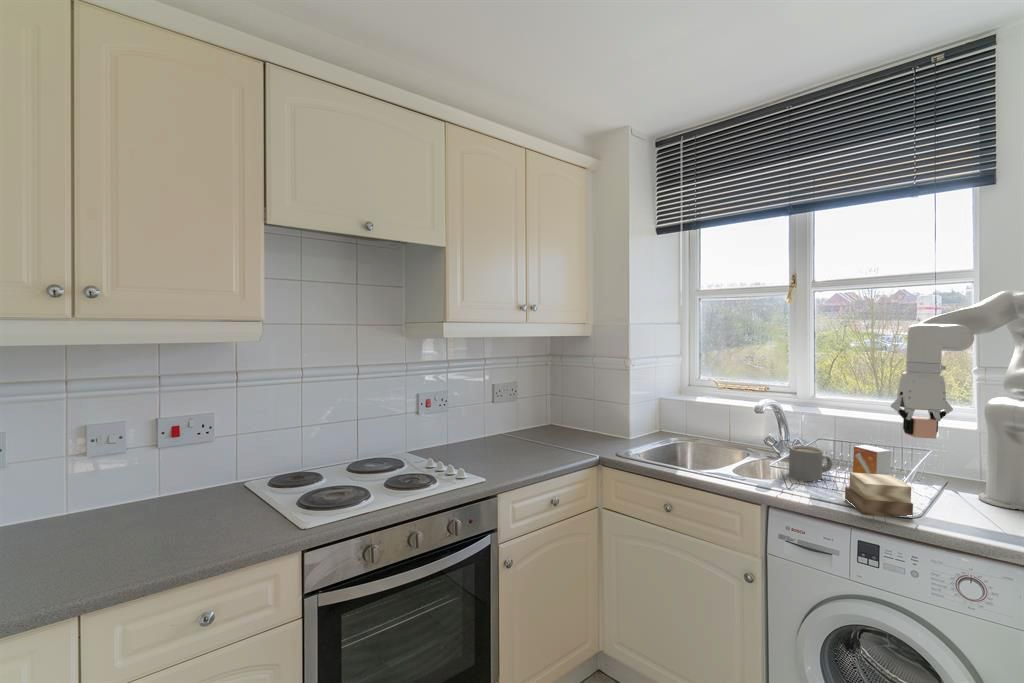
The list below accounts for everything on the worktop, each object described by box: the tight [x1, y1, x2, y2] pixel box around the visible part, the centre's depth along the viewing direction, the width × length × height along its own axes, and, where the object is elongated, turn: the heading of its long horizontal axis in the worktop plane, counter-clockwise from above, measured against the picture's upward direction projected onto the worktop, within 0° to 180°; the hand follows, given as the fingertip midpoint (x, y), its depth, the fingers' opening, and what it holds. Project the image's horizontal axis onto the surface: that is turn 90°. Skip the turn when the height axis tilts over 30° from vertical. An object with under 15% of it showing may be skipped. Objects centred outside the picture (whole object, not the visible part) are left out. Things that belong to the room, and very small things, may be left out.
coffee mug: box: [788, 444, 833, 482], centre depth 174 cm, size 13×10×10 cm
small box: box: [852, 444, 892, 475], centre depth 164 cm, size 8×6×13 cm
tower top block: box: [848, 472, 912, 503], centre depth 145 cm, size 11×11×4 cm
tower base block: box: [844, 486, 914, 518], centre depth 146 cm, size 12×12×4 cm
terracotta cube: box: [904, 416, 937, 439], centre depth 141 cm, size 5×5×5 cm
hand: (920, 433), depth 141 cm, fingers closed on terracotta cube, 5 cm apart
